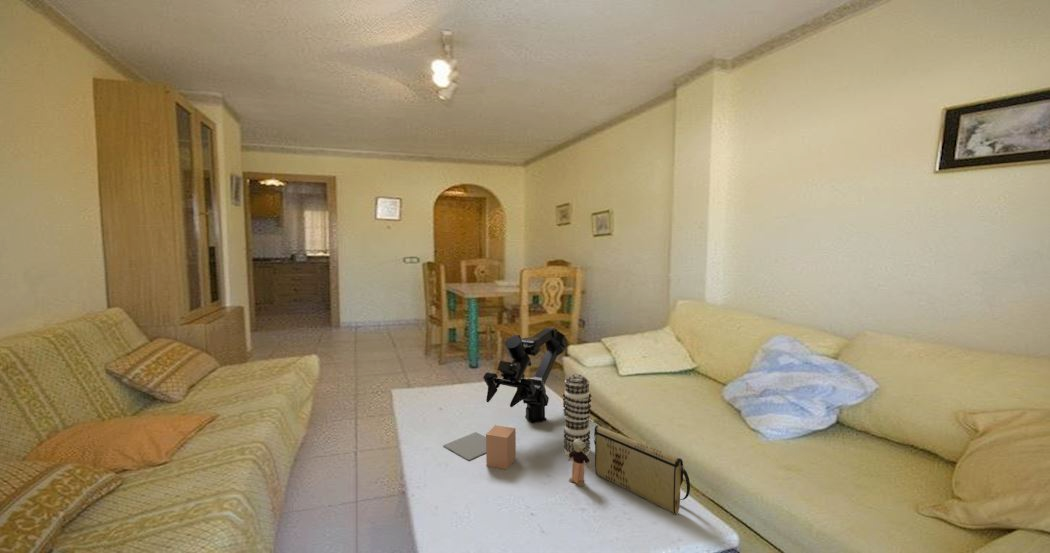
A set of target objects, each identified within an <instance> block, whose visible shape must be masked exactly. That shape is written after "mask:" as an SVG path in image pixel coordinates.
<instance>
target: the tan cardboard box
mask: <svg viewBox="0 0 1050 553" xmlns="http://www.w3.org/2000/svg"><path fill="white" fill-rule="evenodd" d="M516 431H517V430H516V428H515V427H509V426H504V425H502V426H501V425H496V424H495V425H494V426H492V428H491V429H490V430H488V432H486V434H485V437H486V453H485V455H486V457H485V459H486V462H485V463H486V466H487V467H491V468H497V469H502V470H509V469H510V467H511V466H512V464H513V463H514V462H515V461H516V459H517V454H516V453H517V449H516V447H517V444H516V443H517V440H516V437H517V436H516V434H517V432H516Z"/></svg>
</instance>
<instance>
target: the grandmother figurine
mask: <svg viewBox="0 0 1050 553" xmlns="http://www.w3.org/2000/svg"><path fill="white" fill-rule="evenodd" d="M573 444H574V450H573V451H572V452H571V453H570V454H569V456H568V457H567V461H568V462H571V461H572V470H571V476H570V477H569V479H568V481H569V482H570V483H576V484H577V486H583V485H584V484H585V483H586V481H585V464H586V466H587V468H588V469H591V468H592V465H591V462H590V461H591V460H590V459H589V457H588V455H587V456H586V455H585V454H584V453H583V452H582V450H583V449H584V448H585V444H584V443H583V442H582V440H580V439H575V440H574V442H573ZM572 459H573V460H572ZM584 482H585V483H584Z"/></svg>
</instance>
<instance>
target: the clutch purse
mask: <svg viewBox="0 0 1050 553" xmlns="http://www.w3.org/2000/svg"><path fill="white" fill-rule="evenodd" d="M593 438H594V439H593V443H594V470H595V474H596V475H598V476H600V477H602V478H604V479H605V480H608V481H610V482H612V483H614V484H616V486H617V485H618V486H619V487H621V488H623V489H625V490H628V491H630V492H631V493H633V494H635V495H637V496H639V497H640V498H643V499H645V500H647V501H648V502H650V503H653V504H655V505H657V506H659V507H660V508H663V509H665V510H666V511H668V512H671V513H673V514H674V515H675V516H677V515H678V514H679V513H680V505H681V501H683V500H686V499H687V498H688V497H689V495H690V491H691V482H690V478H689V477H690V476H689V474H688V472H687V470H686V468H685V467H684V463H683V462H684V461H683V459H682V458H679V457H678V456H677V457H676V456H674V455H672V454H669V453H667V452H665V451H662V450H660V449H658V448H654V447H652V446H649V445H648V444H644V443H642V442H639V441H637V440H634V439H632V438H629V437H627V436H625V435H623V434H620V433H618V432H614V431H612V430H609V429H607V428H604V427H602V426H600V425H595V426H594V434H593ZM684 479H685V483H686V493H685V496H684V497H683V498H681V486H682V485H683V482H684Z"/></svg>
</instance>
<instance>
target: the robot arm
mask: <svg viewBox="0 0 1050 553" xmlns="http://www.w3.org/2000/svg"><path fill="white" fill-rule="evenodd" d="M557 329H558V328H555V327H550V326H545V327H543V329H542V330H541V331H539V332H538V333H536V334H534V335H533V336H531V337H530V336H528V337H524V338H522V337H521V334H514V335H513V336H511V337H509V338H507V339H506V340H505V341H504V346H505V348H506V351H507V353H508V355H509V357H510V358H511V359H512V361H511V362H510V361H505V360H499V363H498V366H497V368H496V369H497V371H498V372H500V377H499V376H498V374H497V373H493V372H485V374H484V375H483V380H484V382H485V383H486V385H487V394H486V402H487V403H489V402H490V401H491V400H492V399H493V398H494V396H495V394H496V393H497V392H498V388H500V385H502V386H507V387H511V388H517V389H516V391H515V393H514V395H513V397H512V399H511V401H510V404H509V407H510V408H513V407H515V405H517V404H518V403H520V402H521V401H523V404H526V407H525V416H524V417H525V418H526V419H527V421H529V423H531V424H535V423H538V422H539V423H540V422H545V421H547V420H548V419H547V417H546V406H548V404H549V401H550V398H549V396H548V394H547V392H546V391H547V390H546V385H545V384H546V383H547V380H548V378H549V376H550V373H551V371H552V368H553V366H554V365H555V362H556V360H557V358H558V356H560V355H561V354H563V353H564V352H565V350H566V348H567V346H568V339H567V337H566V336H565V335H564V333H562V332H560V331H558V330H557ZM544 345H545V349H546V350H545V352H544V355H543V358H542V359H541V362H540V364H539V366H538V368H537V370H536V373H535V374H534V377H532V378H525V377H526V376H525V372H526V370H527V368H528V367H531V366H532V361H531V358H530V356H532V357H535V356H537V355H538V353H539V352H540V351H541V347H542V346H544ZM501 377H502V378H501Z"/></svg>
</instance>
